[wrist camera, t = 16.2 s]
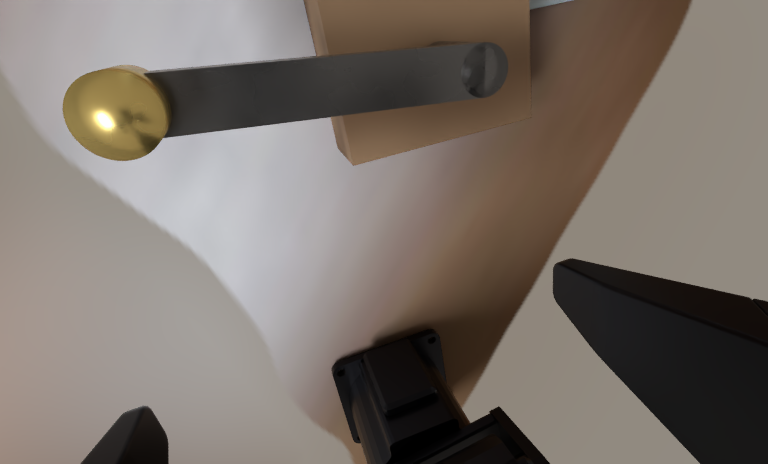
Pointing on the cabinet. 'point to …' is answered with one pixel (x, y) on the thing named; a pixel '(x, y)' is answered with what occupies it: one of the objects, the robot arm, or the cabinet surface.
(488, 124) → the body
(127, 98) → the lever
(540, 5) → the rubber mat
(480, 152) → the cabinet surface
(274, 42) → the cabinet surface
